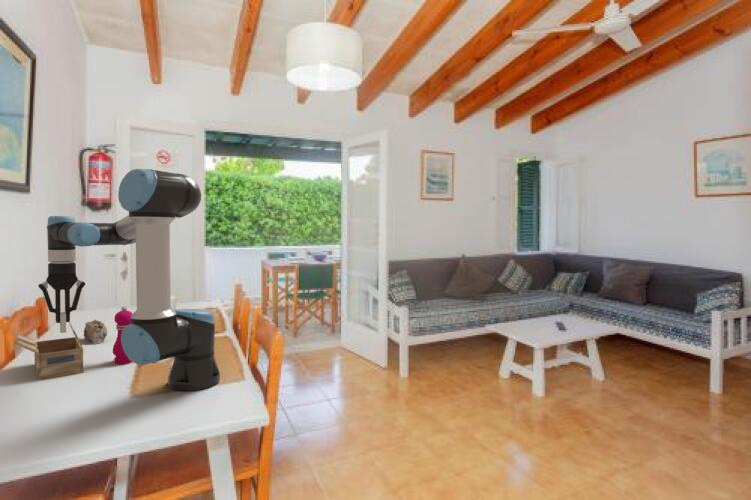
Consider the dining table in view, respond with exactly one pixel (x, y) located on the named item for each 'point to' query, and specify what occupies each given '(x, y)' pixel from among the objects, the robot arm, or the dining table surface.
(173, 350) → the robot arm
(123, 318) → the pepper mill
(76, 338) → the flap right
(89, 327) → the rock
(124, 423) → the dining table surface
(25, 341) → the flap left
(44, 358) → the carton
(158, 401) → the dining table surface
